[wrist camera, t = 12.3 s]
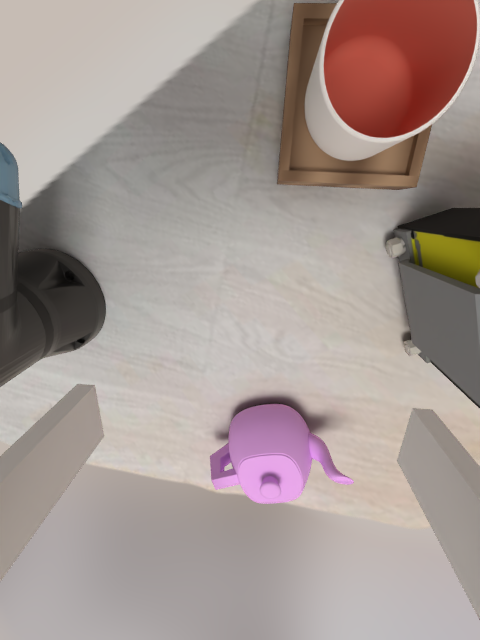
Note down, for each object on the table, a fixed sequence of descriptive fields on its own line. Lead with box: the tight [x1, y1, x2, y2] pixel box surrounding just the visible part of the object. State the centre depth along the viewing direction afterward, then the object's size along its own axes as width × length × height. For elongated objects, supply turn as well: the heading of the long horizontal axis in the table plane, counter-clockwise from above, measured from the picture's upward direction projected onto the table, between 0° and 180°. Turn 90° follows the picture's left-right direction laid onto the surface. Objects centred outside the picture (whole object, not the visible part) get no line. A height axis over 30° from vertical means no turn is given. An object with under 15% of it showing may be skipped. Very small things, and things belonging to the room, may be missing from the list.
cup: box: [305, 0, 480, 161], centre depth 23 cm, size 10×10×10 cm
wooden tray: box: [277, 3, 432, 190], centre depth 29 cm, size 14×14×4 cm
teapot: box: [210, 404, 354, 503], centre depth 43 cm, size 13×20×11 cm
